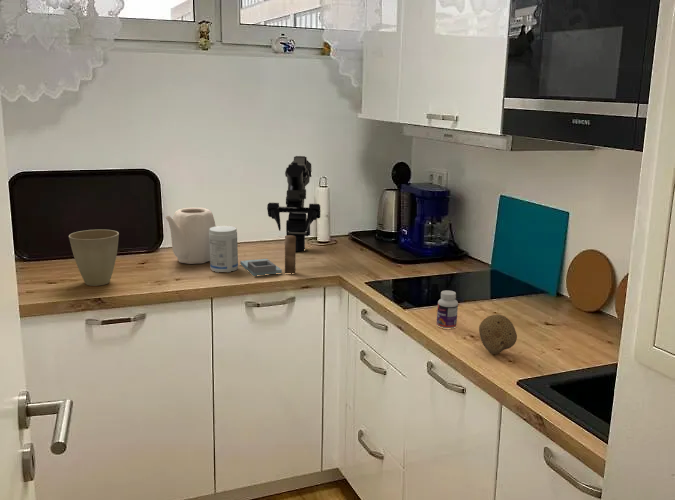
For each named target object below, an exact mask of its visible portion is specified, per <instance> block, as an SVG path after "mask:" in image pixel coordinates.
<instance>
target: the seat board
mask: <svg viewBox="0 0 675 500" xmlns="http://www.w3.org/2000/svg"><path fill="white" fill-rule="evenodd" d="M239 261H240V262H239V265H240V264H241V265H242V266H243V267H244V268H245V269H247V270H248V271H249V272H250V273H251V274H252V275H253V276H257V275H265V274H276V273H282V274H283V270H282V269H281V268H280V267H278V266H277V265H276V264H275V263H274V262H272V261H271V260H270V259H268V258H260V259H258V258H257V259H248V260H247V259H246V260H239ZM241 265H240V266H241ZM242 266H241V267H242ZM243 267H242V268H243ZM244 268H243V269H244ZM245 269H244V270H245ZM247 270H246V271H247ZM248 271H247V272H248ZM249 272H248V273H249ZM250 273H249V274H250ZM251 274H250V275H251ZM252 275H251V276H252ZM253 276H252V277H253ZM257 277H258V276H257Z"/></svg>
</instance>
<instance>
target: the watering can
mask: <svg viewBox="0 0 675 500" xmlns="http://www.w3.org/2000/svg"><path fill="white" fill-rule="evenodd" d="M165 219H166V221H167V222H168V225H169V229H170V230H169V231H170V237H171V239H170V240H171V247H172V253H173V255H174V256H175V257H176V258H177V260H178V262H179V263H181V264H188V265H196V264H205V263H207V262H210V245H209V229H210V228H212V227H215V226H217V225H216V222H215V217H214V215H213V212H212V210H210V209H208V208H205V207H184V208H179V209H177V210H176V211H174V214H173V215H172V217H171V215H167V216H165Z"/></svg>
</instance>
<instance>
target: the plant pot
mask: <svg viewBox="0 0 675 500" xmlns="http://www.w3.org/2000/svg"><path fill="white" fill-rule="evenodd" d="M119 235H120V233H119V231H117V230H112V229H88V230H87V229H86V230H80V231H76V232H75V231H74V232H72V233H70V234H69V235H68V240H69V243H70V247H71V252H72V255H73V259H74V261H75V263H76V266H77V268H78V269H77V270H78V271H79V273H80V275H81V278H82V280H83V282H84V284H85V285H87V286H92V287H93V286H94V287H96V286H97V287H98V286H104V285H105V286H106V285H107V284H110V282H111V279H112V275H113V273H114V269H115V265H116V260H117V255H118V248H119Z"/></svg>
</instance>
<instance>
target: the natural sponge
mask: <svg viewBox="0 0 675 500" xmlns="http://www.w3.org/2000/svg"><path fill="white" fill-rule="evenodd" d="M478 331H479V338H480V340H481V342H482V346H483V347H484V349H486V351H488V353H490V354H491V355H493V354H496V355H498V354H500V353H502V352H503V351H505V350H508V349H510V348H512V347H513V346H514V345H516V343H517V340H518V339H517V338H518V335H517V332H516V329H515V325H514V323H513V322H512V321H511V320H510V319H509V318H508V317H506V316H505V315H502V314H493V315H492V314H491V315H489V316H488V315H487V317H486V318H484V319H483V320H482V321H481V322H480V324H479V326H478Z"/></svg>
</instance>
